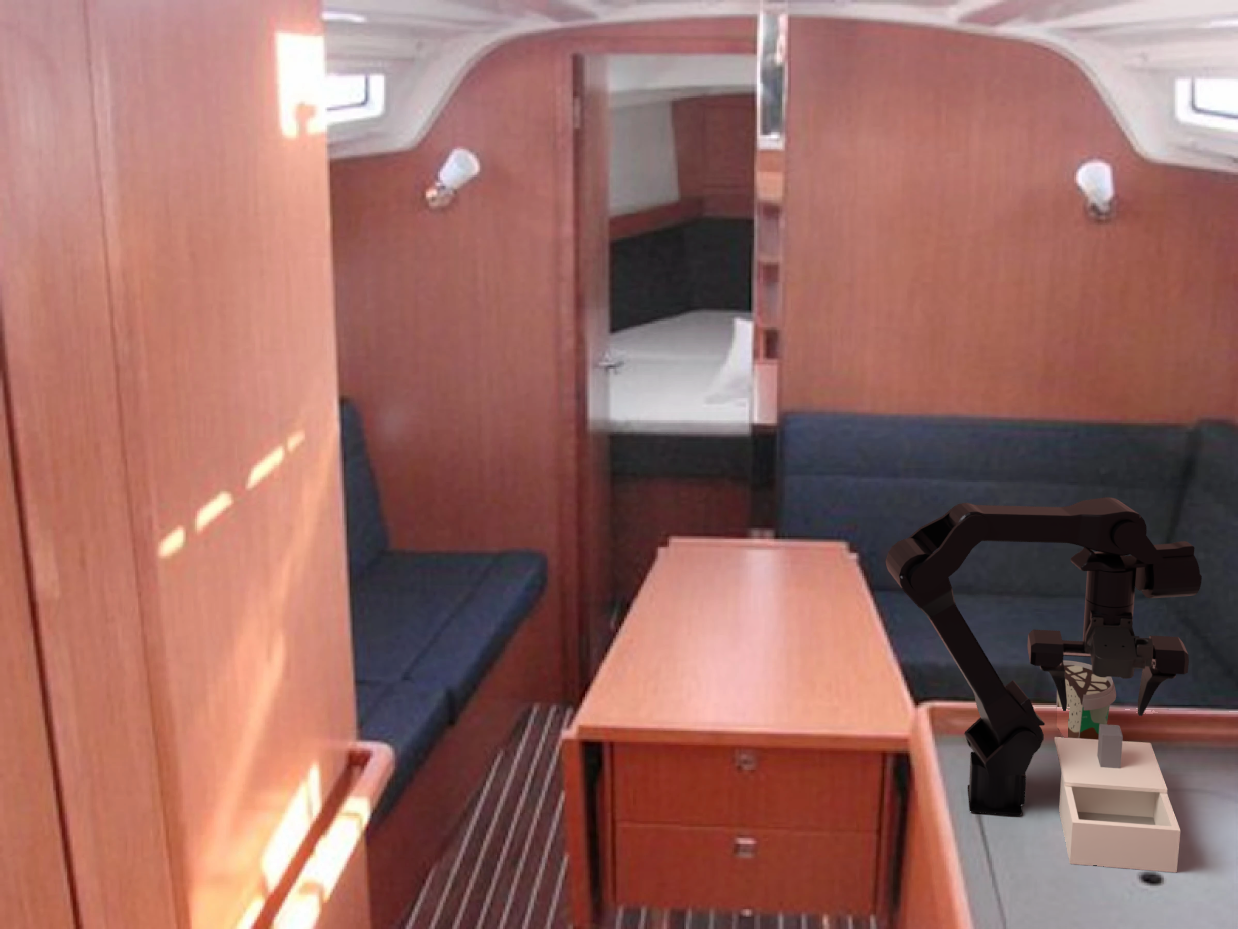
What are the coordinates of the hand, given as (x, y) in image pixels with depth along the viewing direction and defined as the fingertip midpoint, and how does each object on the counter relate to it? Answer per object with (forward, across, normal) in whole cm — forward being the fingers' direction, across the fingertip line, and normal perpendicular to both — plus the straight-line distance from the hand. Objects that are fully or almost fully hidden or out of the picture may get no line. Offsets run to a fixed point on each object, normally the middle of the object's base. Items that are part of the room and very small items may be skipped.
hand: (1101, 712), depth 168 cm
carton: (+12, +1, -11) cm, 16 cm away
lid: (+6, +1, -2) cm, 7 cm away
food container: (+12, +1, +15) cm, 20 cm away
